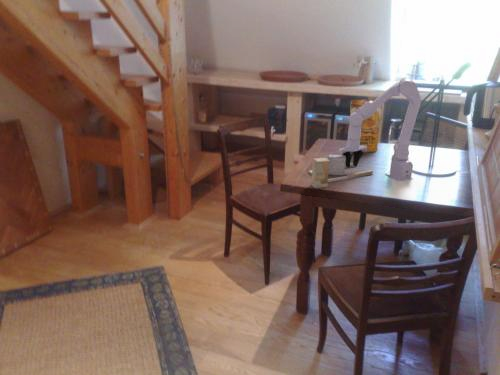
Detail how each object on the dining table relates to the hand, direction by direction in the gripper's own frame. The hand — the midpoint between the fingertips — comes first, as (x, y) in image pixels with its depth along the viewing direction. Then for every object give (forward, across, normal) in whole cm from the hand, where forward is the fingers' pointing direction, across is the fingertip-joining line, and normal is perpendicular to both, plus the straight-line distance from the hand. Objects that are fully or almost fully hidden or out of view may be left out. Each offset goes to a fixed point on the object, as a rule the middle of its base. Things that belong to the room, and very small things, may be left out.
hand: (351, 166), depth 208 cm
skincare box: (+3, +24, +10) cm, 26 cm away
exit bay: (+3, +13, 0) cm, 13 cm away
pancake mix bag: (+3, -26, -25) cm, 36 cm away
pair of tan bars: (+3, 0, 0) cm, 3 cm away
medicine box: (+3, +8, 0) cm, 9 cm away
